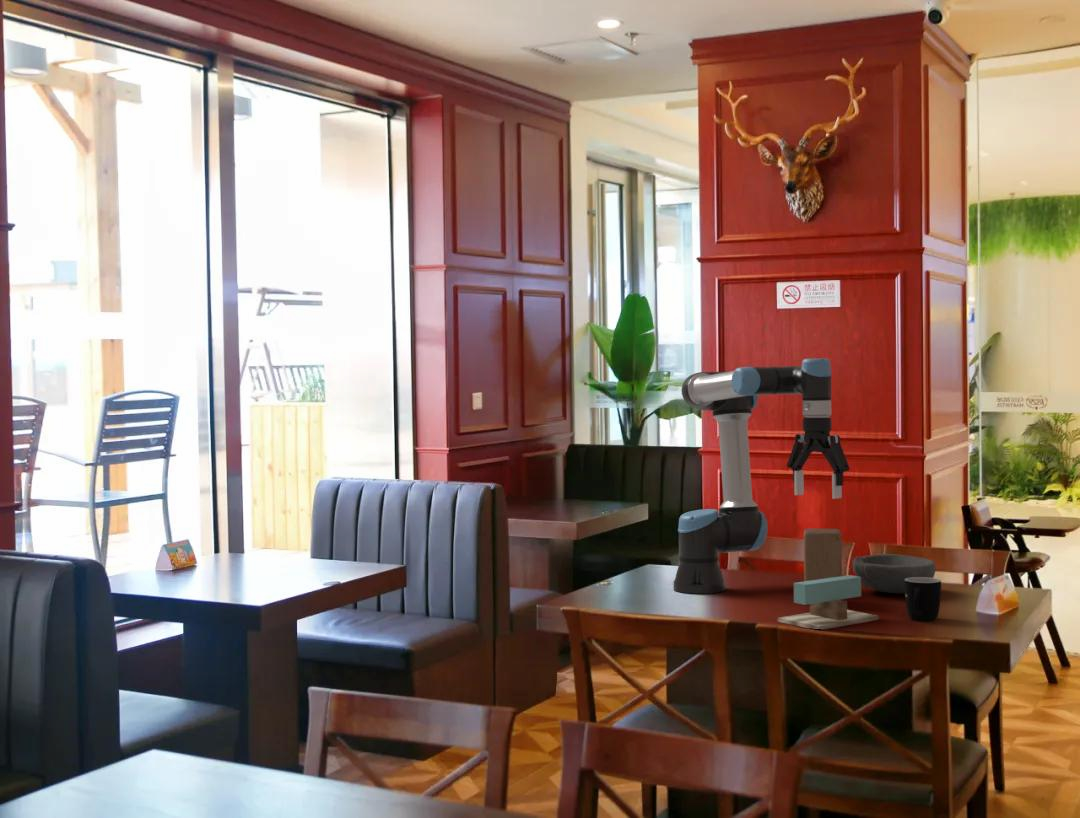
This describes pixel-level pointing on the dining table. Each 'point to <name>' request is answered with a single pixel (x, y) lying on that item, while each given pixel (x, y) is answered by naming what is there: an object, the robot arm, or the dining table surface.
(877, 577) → the bowl
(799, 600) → the bar
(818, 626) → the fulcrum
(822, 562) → the wooden block
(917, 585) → the mug
